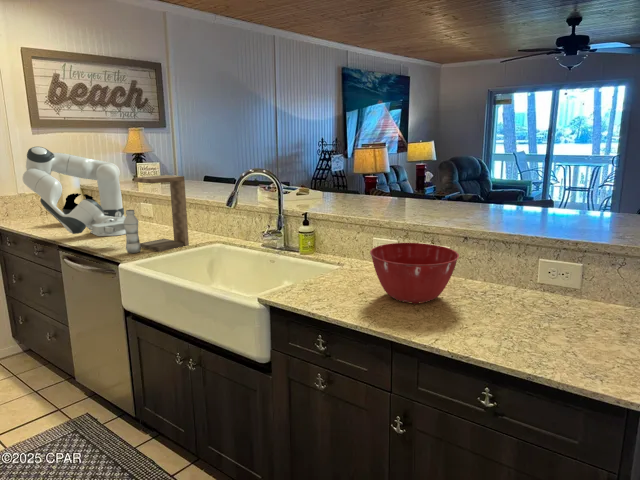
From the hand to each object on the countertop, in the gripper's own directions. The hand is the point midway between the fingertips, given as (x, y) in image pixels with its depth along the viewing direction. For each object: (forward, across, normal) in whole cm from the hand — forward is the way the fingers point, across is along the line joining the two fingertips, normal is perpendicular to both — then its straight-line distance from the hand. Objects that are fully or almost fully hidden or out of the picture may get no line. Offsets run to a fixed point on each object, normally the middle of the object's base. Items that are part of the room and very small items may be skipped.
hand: (123, 228), depth 228 cm
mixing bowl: (+139, +22, +11) cm, 141 cm away
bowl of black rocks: (-92, +25, +11) cm, 96 cm away
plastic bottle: (+6, +1, +11) cm, 13 cm away
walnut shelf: (+6, +16, +11) cm, 20 cm away
